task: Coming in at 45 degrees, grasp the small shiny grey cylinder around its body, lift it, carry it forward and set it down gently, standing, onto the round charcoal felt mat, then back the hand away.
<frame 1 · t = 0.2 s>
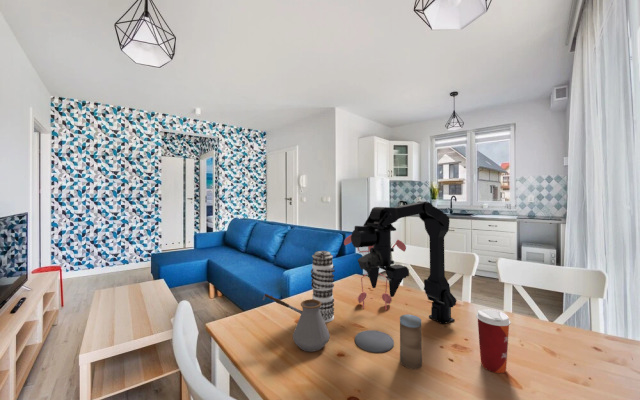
hand: (382, 292, 87), 14 cm above the table, tool pointing down, fingers open, 9 cm apart
decorative candle: (323, 318, 100), on the table
felt mat: (374, 341, 83), on the table
paper cup: (493, 367, 70), on the table
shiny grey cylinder: (410, 362, 72), on the table
figurine: (374, 303, 114), on the table
coffee pot: (295, 343, 82), on the table
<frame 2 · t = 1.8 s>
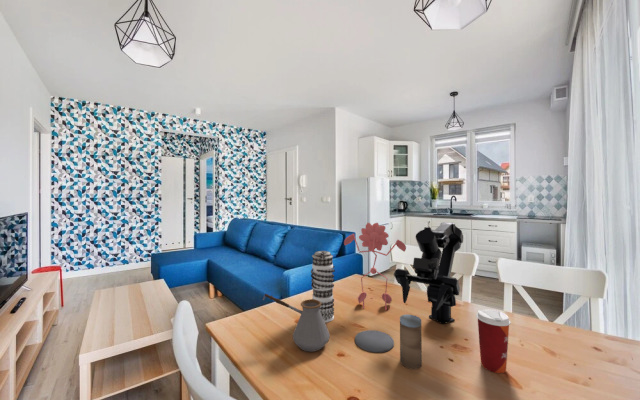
hand: (419, 306, 78), 13 cm above the table, tool tilted 45°, fingers open, 9 cm apart
nothing on the table moved.
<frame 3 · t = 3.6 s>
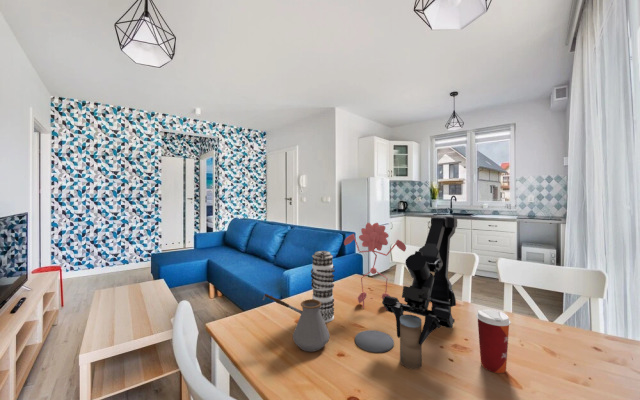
hand: (408, 340, 71), 7 cm above the table, tool tilted 45°, fingers closed on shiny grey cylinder, 6 cm apart
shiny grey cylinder: (410, 362, 72), on the table, touching gripper
everything else where it was.
when the fingers open (8 cm above the table, at t = 7.0 s): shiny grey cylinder stays where it is, resting on felt mat.
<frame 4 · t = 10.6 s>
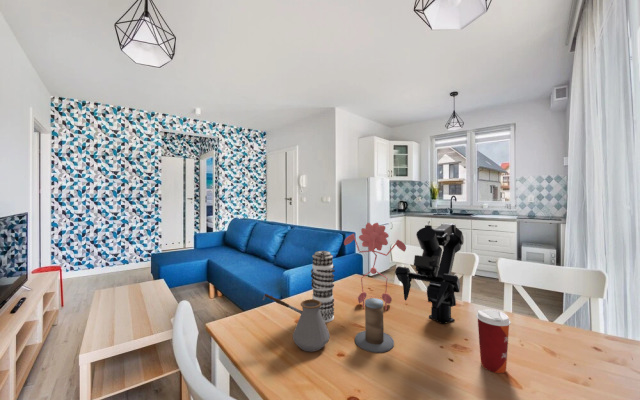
hand: (420, 303, 79), 14 cm above the table, tool tilted 45°, fingers open, 9 cm apart
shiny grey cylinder: (374, 339, 83), point 1 cm above the table, touching felt mat
everything else where it was.
at the end: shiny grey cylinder 0.1 cm from the felt mat (horizontally); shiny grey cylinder tilted 0°; the gripper is holding nothing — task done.
